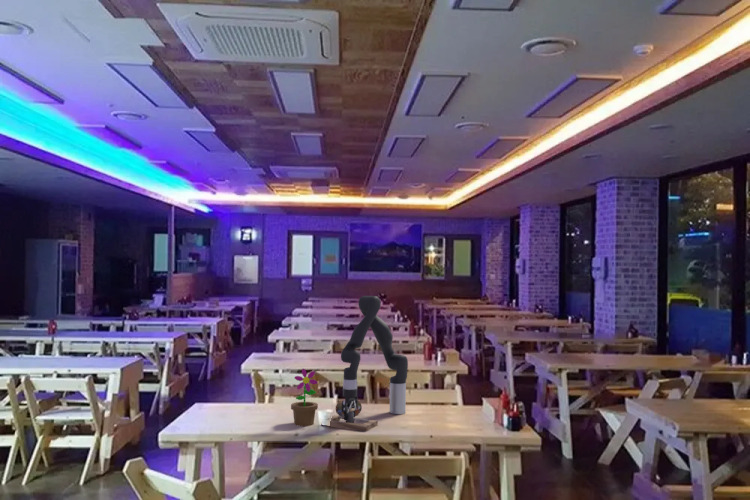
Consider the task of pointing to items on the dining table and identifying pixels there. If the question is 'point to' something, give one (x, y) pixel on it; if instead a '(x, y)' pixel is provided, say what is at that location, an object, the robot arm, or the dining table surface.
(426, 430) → the dining table surface
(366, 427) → the framed panel with rod
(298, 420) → the flowerpot
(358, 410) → the tin
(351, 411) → the spool
